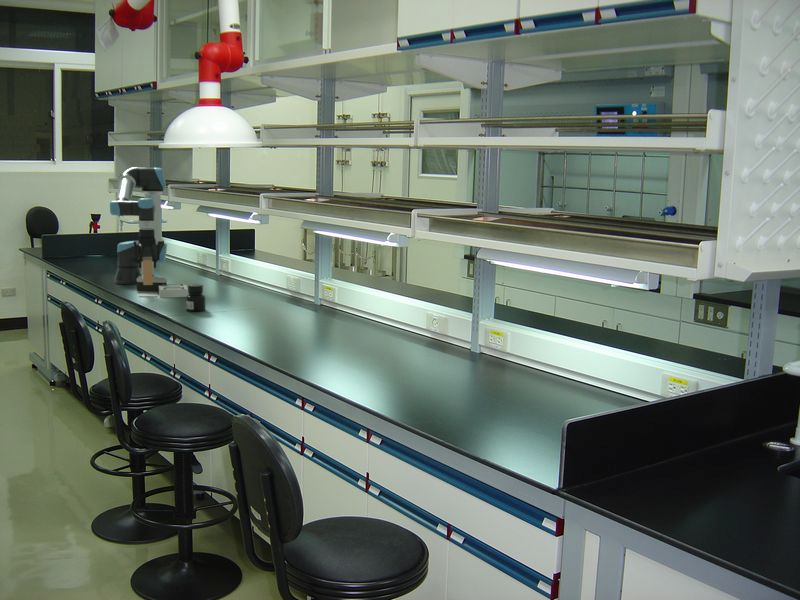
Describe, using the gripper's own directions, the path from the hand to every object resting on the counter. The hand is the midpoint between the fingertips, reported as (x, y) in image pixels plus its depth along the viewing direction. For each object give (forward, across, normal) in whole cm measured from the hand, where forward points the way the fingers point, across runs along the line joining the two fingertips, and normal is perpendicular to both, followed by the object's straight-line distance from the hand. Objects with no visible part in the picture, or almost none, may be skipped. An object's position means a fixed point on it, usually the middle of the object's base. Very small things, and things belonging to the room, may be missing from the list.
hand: (147, 274), depth 414 cm
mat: (+11, 0, 0) cm, 11 cm away
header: (+11, +12, 0) cm, 17 cm away
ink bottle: (+12, +20, -45) cm, 51 cm away
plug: (+5, 0, 0) cm, 5 cm away
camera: (+11, +3, +13) cm, 17 cm away
